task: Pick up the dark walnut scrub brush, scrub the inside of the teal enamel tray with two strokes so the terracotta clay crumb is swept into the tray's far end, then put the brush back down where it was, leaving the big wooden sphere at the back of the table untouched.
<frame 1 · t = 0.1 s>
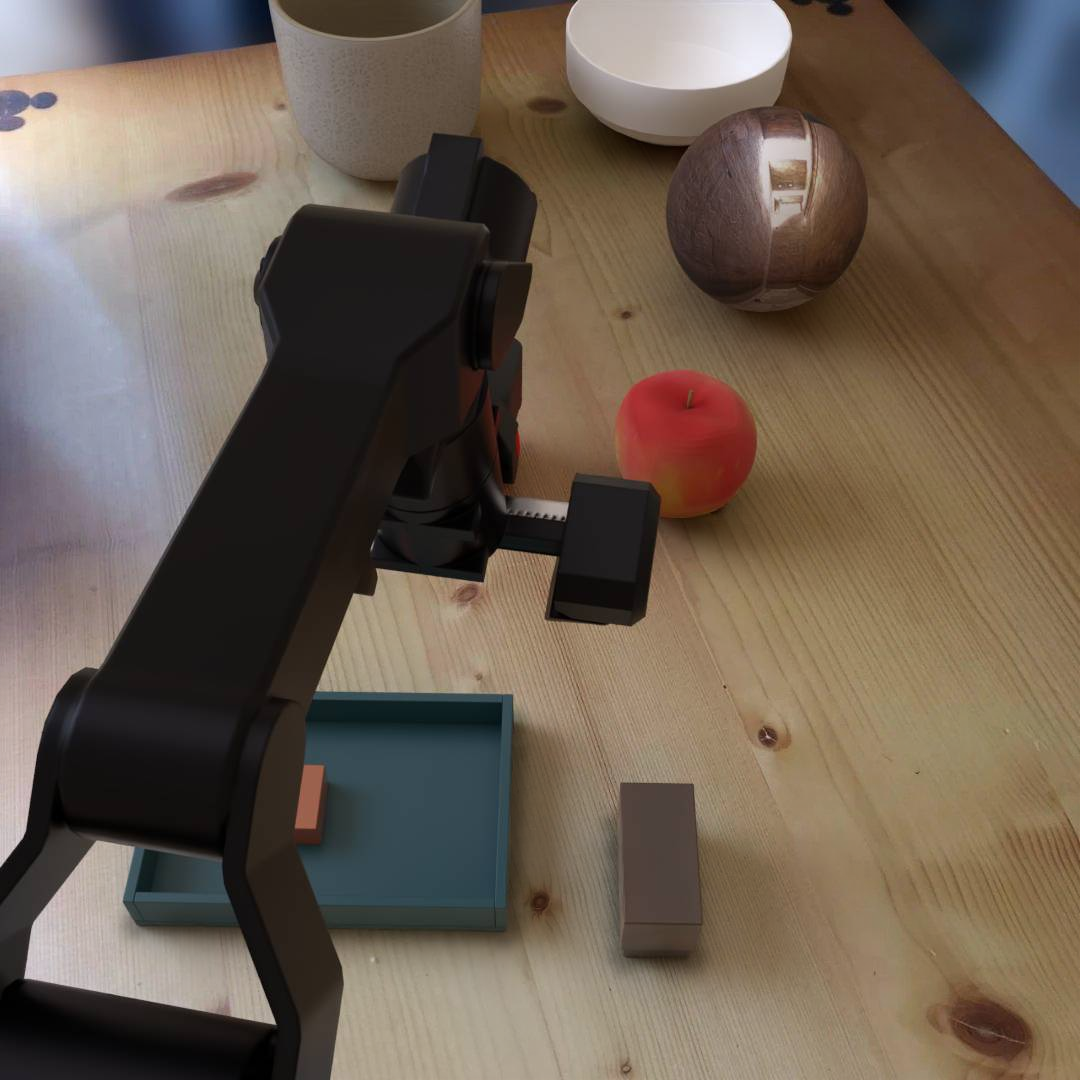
hand: (461, 598, 65), 16 cm above the table, tool pointing down, fingers open, 9 cm apart
flower: (465, 477, 92), on the table
bowl: (670, 114, 120), on the table
apple: (676, 498, 91), on the table
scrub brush: (653, 890, 72), on the table
wooden sphere: (752, 290, 104), on the table
tray: (335, 817, 75), on the table
clay crumb: (290, 812, 74), point 1 cm above the table, touching tray
planter: (390, 149, 116), on the table
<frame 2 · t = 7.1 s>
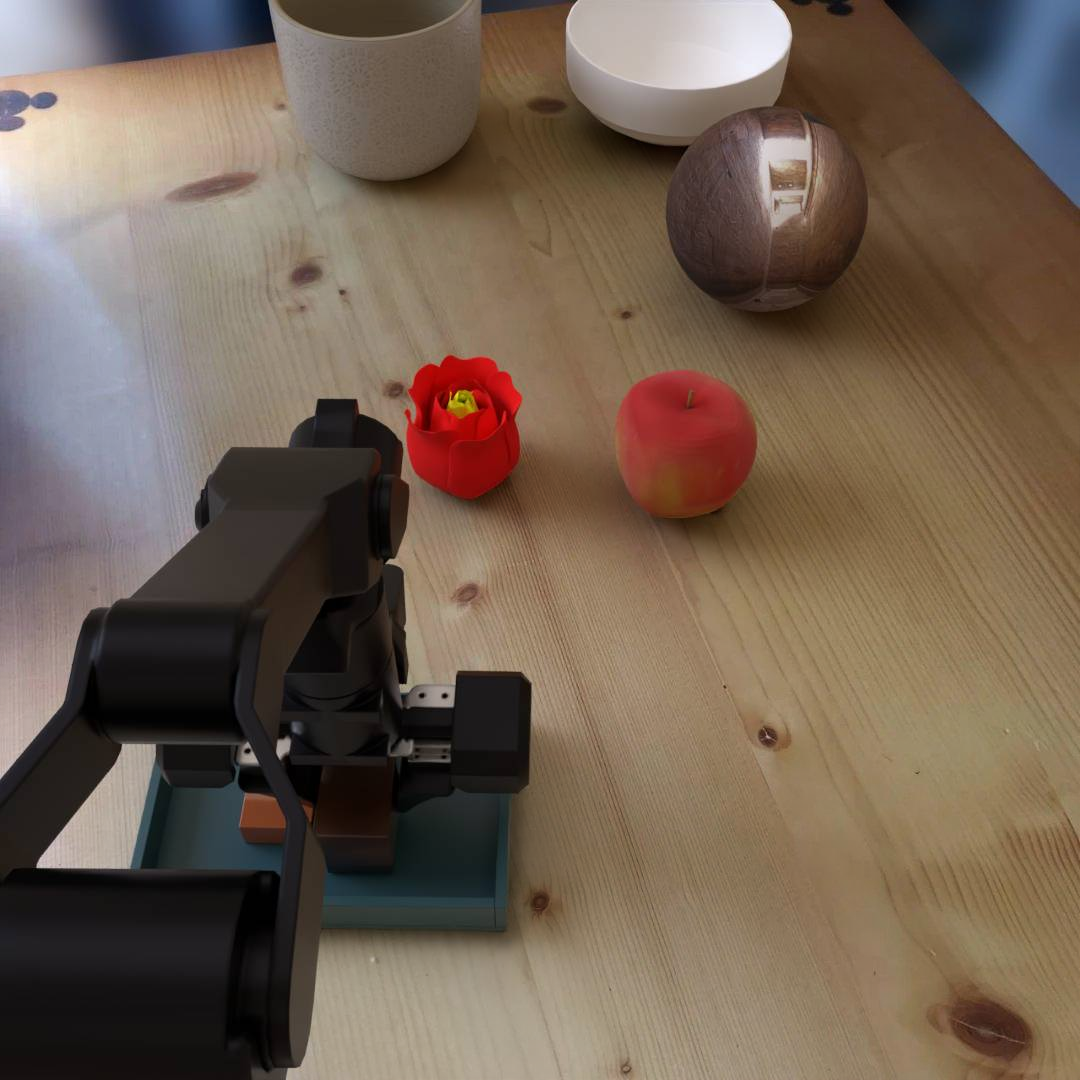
hand: (365, 804, 74), 2 cm above the table, tool pointing down, fingers closed on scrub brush, 4 cm apart
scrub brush: (367, 811, 74), point 1 cm above the table, touching gripper
clay crumb: (285, 811, 75), point 1 cm above the table, touching gripper
everything else where it was.
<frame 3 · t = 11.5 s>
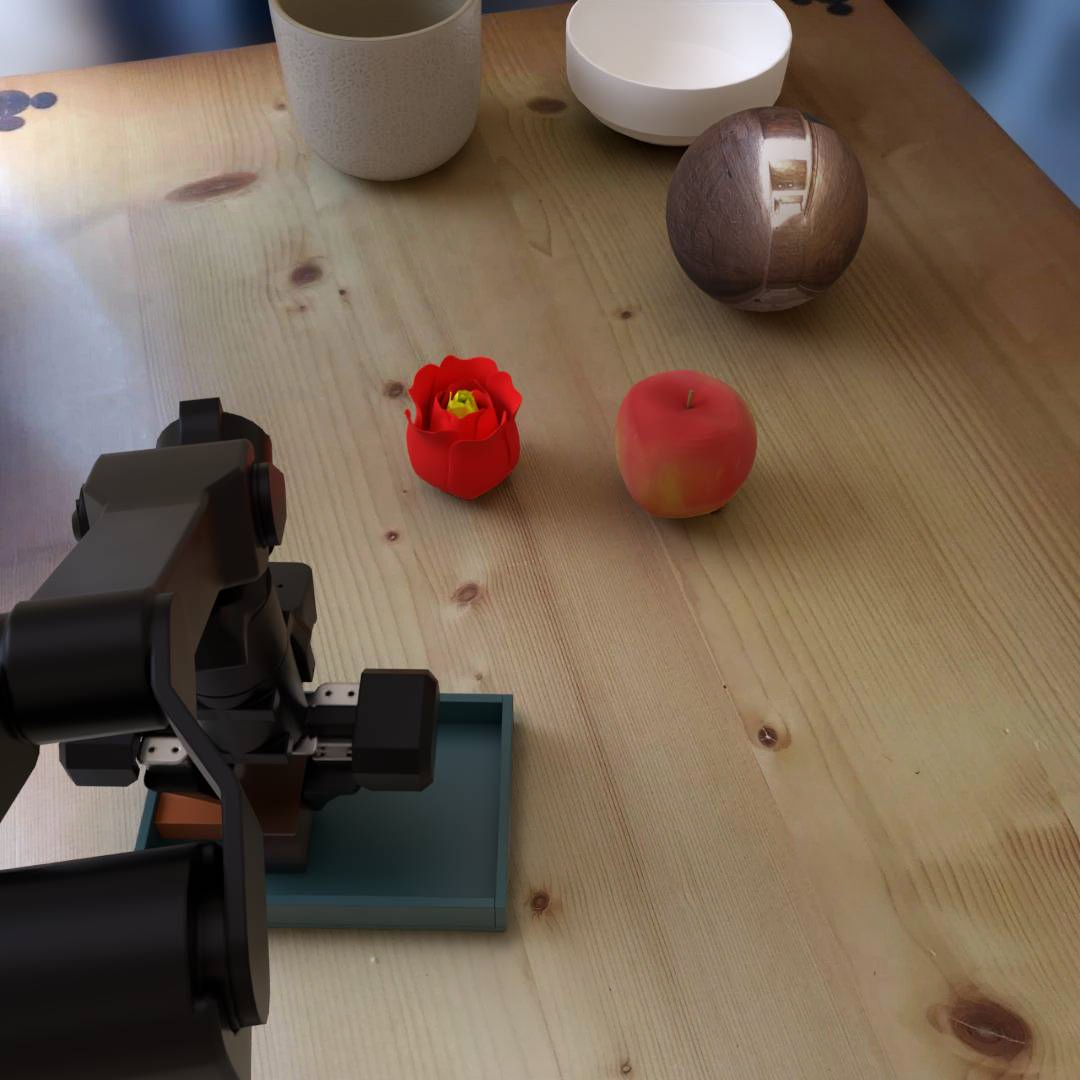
hand: (281, 802, 74), 2 cm above the table, tool pointing down, fingers closed on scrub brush, 4 cm apart
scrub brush: (284, 809, 74), point 1 cm above the table, touching gripper
clay crumb: (203, 807, 75), point 1 cm above the table, touching gripper, tray
everything else where it was.
when the fingers open (1 cm above the table, at t = 17.4 s): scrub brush stays where it is, on the table.
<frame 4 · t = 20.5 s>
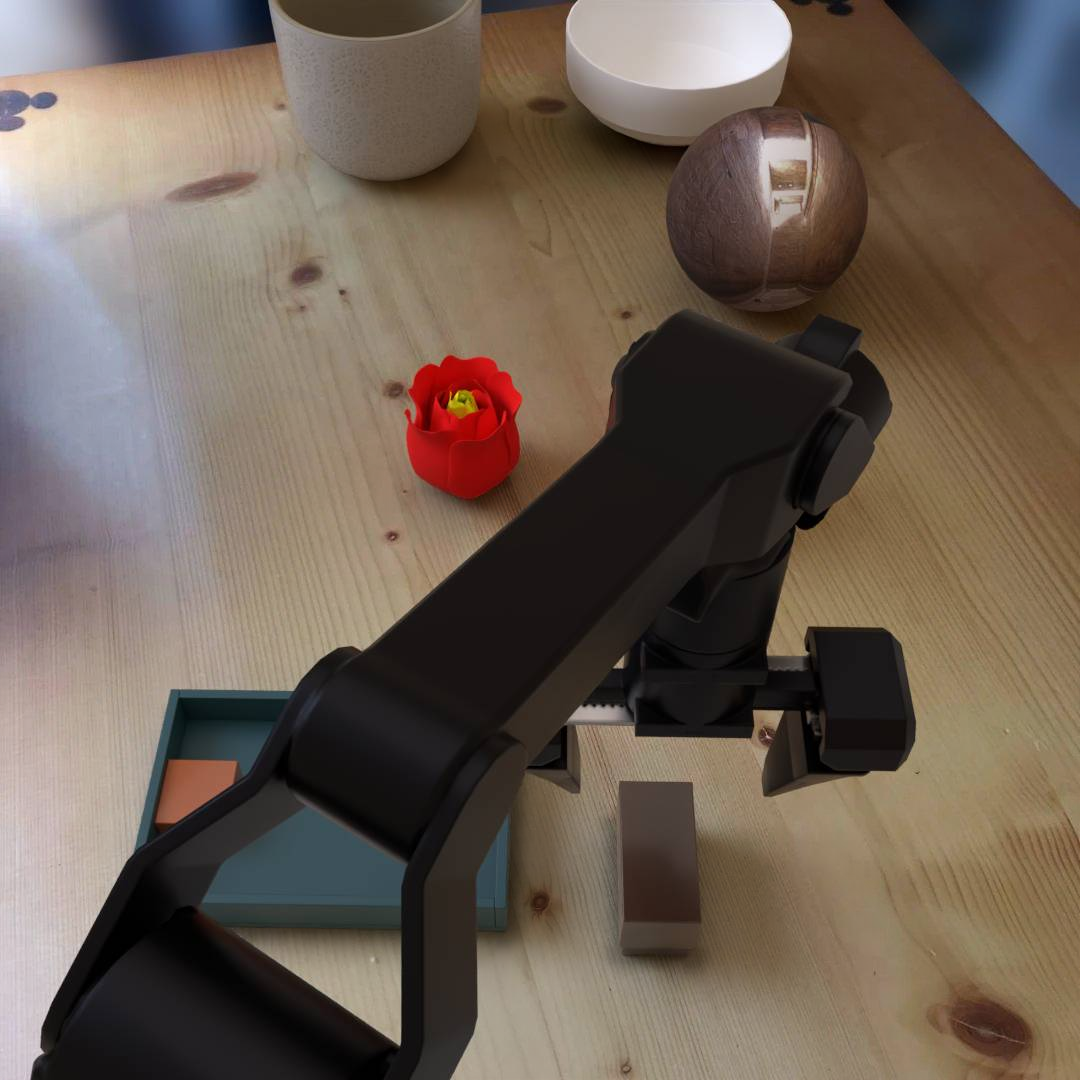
hand: (670, 786, 63), 12 cm above the table, tool pointing down, fingers open, 9 cm apart
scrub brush: (652, 888, 72), on the table
clay crumb: (203, 807, 75), point 1 cm above the table, touching tray
everything else where it was.
at the end: clay crumb 0.6 cm from the target spot in the tray, point 0.6 cm above the tray's base; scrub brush 0.1 cm from the target spot, on the table; wooden sphere moved 0.2 cm from its start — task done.
